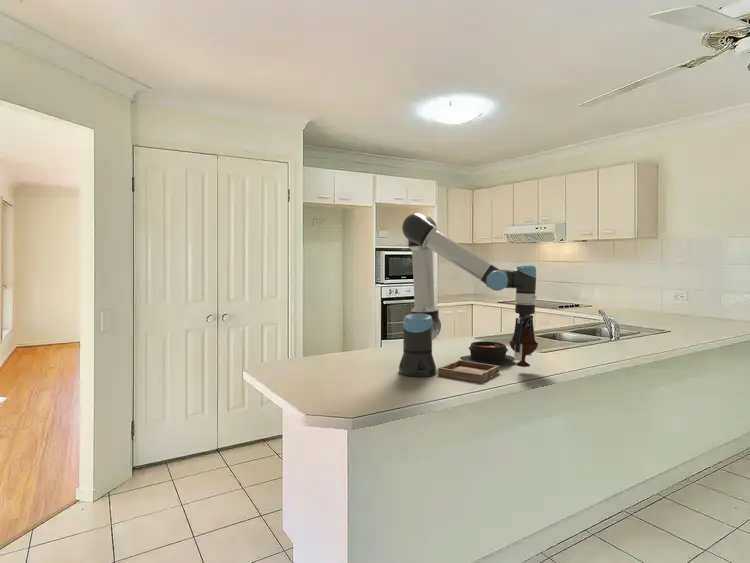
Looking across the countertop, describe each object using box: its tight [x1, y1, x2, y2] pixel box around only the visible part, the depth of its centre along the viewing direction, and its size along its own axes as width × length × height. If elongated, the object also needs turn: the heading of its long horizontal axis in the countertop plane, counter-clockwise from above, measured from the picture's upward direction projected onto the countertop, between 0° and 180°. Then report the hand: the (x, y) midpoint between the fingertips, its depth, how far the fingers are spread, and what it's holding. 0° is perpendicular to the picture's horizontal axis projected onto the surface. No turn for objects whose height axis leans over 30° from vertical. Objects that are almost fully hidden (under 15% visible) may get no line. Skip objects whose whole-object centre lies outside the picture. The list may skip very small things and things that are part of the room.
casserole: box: [459, 340, 516, 366], centre depth 210 cm, size 25×19×8 cm
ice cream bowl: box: [508, 329, 539, 368], centre depth 191 cm, size 11×11×15 cm
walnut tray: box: [437, 359, 500, 383], centre depth 189 cm, size 18×18×3 cm
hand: (523, 357), depth 191 cm, fingers closed on ice cream bowl, 11 cm apart
